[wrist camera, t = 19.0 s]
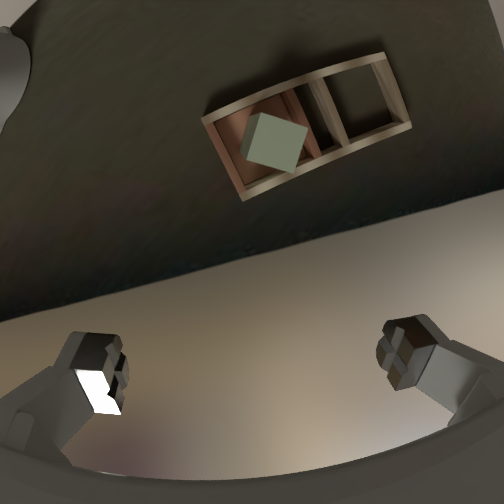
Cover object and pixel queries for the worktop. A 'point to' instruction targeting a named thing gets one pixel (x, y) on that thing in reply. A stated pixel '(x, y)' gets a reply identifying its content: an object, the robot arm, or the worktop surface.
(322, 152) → the two-socket holder
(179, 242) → the worktop surface
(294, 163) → the sage peg
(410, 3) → the worktop surface
